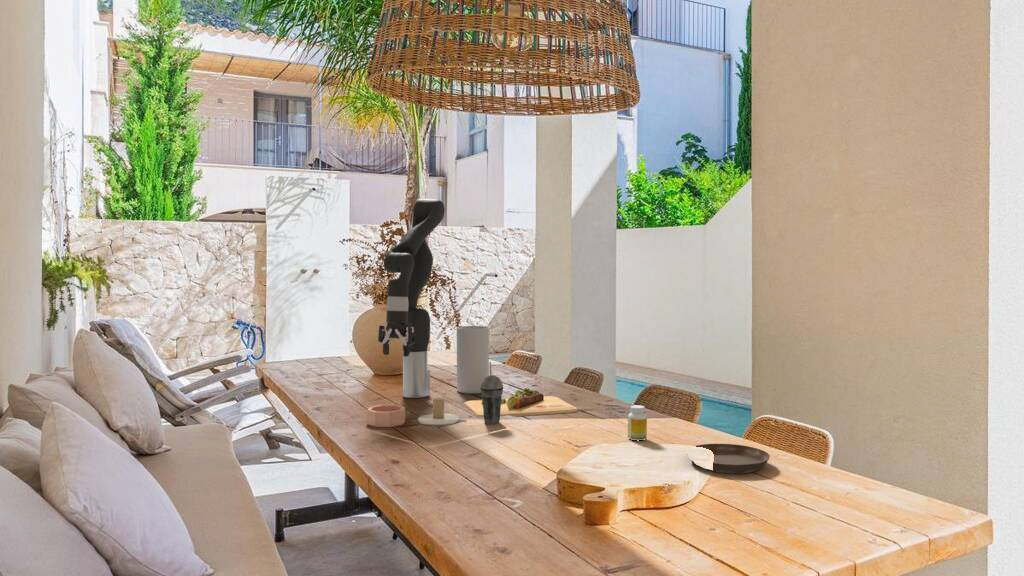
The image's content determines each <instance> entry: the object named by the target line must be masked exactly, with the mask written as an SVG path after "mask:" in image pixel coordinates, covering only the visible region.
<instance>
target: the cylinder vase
mask: <svg viewBox="0 0 1024 576" xmlns="http://www.w3.org/2000/svg"><path fill="white" fill-rule="evenodd" d="M489 329H490V327H489V326H483V325H464V326H457V327H456V391H457V392H459V393H460V394H468V395H476V394H479V395H480V394H481V389H480V388H481V383H482V381H483V380H484V378H485V377H487V376H490V363H489V362H490V360H489V359H490V348H489V347H490V340H489V339H490V336H489V335H490V330H489Z"/></svg>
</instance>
